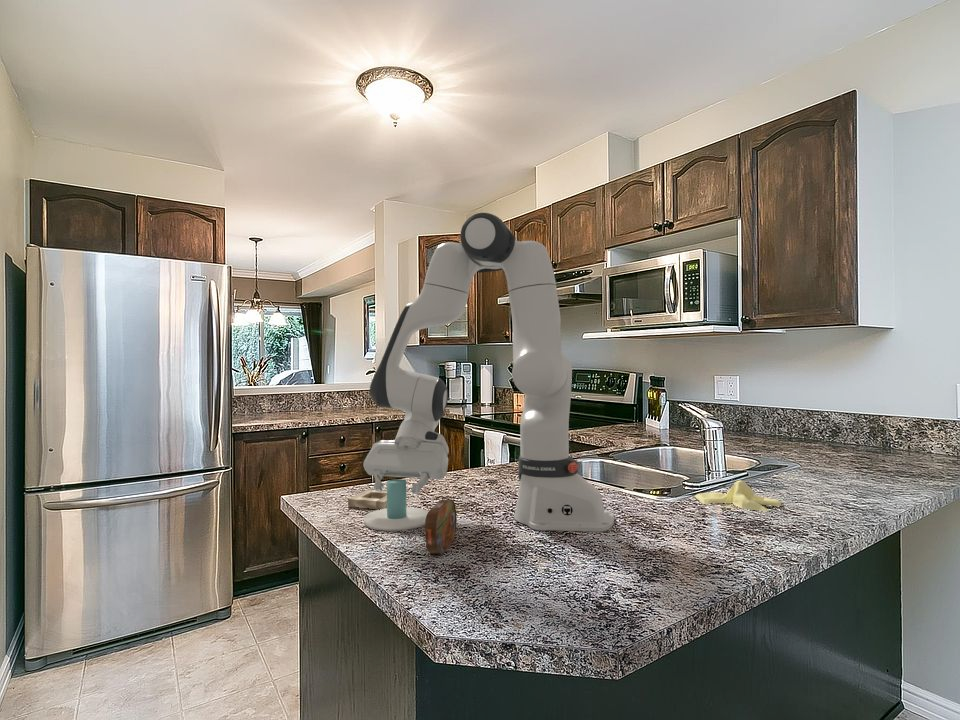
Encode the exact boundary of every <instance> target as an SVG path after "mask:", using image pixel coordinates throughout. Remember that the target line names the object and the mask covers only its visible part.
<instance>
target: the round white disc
mask: <svg viewBox="0 0 960 720" xmlns="http://www.w3.org/2000/svg"><path fill="white" fill-rule="evenodd" d="M428 512H429V510H428V511H427V510H425V509H422V508H419V507H418V508H417V507H408V506H406V513H407V516H406V517H405V518H401V519H390V518H387V508H385V509H380V510H379V509H375V510H373V511H370V512H368V513H367V514H365V515H364V516H363V524H364V526H365V527H366V528H369V529H372V530H377V531H383V532H397V531H398V532H399V531H406V530H407V531H409V530H414V529H418V528H421V527H425V520H426V516H427V513H428Z"/></svg>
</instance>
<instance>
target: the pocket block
mask: <svg viewBox="0 0 960 720" xmlns="http://www.w3.org/2000/svg"><path fill="white" fill-rule="evenodd" d="M347 506H348V507H347V508H356V507H359V508H360V509H367V508H369V510H379V509H385V508H387V490H382V491H375V490H374V489H366V490H364V491H362V492H360V493H358V494H355V495H353V496H351V497H349V498H347ZM359 508H358V509H359Z"/></svg>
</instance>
